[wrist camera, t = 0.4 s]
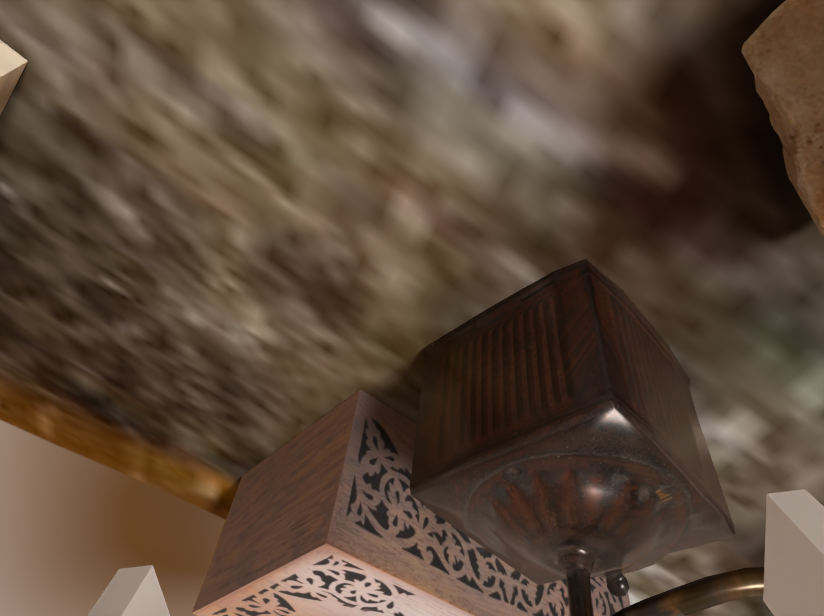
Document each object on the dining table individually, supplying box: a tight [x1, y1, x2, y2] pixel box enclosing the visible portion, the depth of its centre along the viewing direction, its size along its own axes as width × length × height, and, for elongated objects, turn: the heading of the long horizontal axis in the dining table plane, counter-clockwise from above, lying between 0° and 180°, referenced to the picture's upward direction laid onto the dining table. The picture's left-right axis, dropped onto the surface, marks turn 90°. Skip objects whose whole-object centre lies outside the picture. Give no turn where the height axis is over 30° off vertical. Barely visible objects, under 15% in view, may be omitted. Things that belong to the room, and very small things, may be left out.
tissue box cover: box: [192, 389, 630, 616], centre depth 41 cm, size 26×14×10 cm, turn 49°
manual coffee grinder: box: [410, 259, 764, 616], centre depth 24 cm, size 16×11×18 cm
